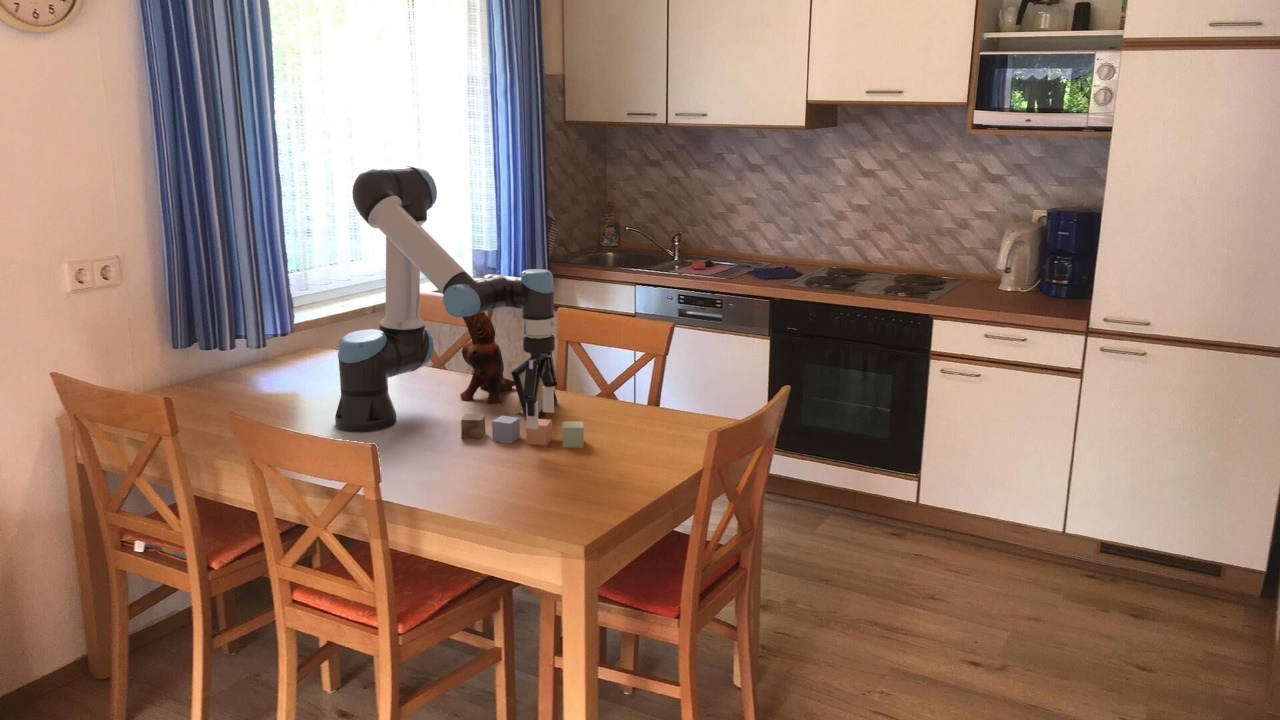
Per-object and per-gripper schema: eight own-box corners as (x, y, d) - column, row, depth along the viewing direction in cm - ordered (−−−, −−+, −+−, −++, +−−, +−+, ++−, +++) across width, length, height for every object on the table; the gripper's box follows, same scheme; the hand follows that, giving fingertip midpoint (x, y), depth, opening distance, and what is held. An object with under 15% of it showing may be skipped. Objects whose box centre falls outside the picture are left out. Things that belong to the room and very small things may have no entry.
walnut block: (461, 439, 245) (461, 419, 244) (465, 432, 250) (464, 413, 249) (481, 439, 245) (481, 420, 244) (485, 433, 250) (484, 414, 249)
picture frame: (532, 427, 254) (525, 370, 251) (499, 428, 256) (492, 372, 253) (557, 402, 276) (551, 350, 273) (527, 403, 278) (520, 351, 275)
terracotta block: (526, 444, 243) (526, 424, 241) (532, 437, 247) (532, 418, 246) (546, 445, 242) (546, 425, 241) (552, 439, 247) (552, 419, 245)
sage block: (562, 447, 241) (562, 427, 239) (562, 441, 245) (562, 421, 244) (583, 447, 241) (583, 427, 240) (583, 440, 246) (583, 421, 244)
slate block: (492, 440, 245) (492, 421, 243) (501, 434, 249) (501, 415, 248) (511, 443, 243) (510, 423, 242) (519, 437, 248) (519, 417, 246)
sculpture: (440, 396, 281) (437, 291, 274) (485, 382, 296) (483, 282, 289) (490, 407, 271) (487, 298, 264) (533, 392, 286) (532, 289, 279)
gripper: (538, 346, 225) (541, 436, 230) (567, 325, 249) (568, 406, 254) (507, 345, 227) (509, 434, 232) (538, 323, 251) (540, 405, 256)
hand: (540, 420), depth 243 cm, fingers open, 13 cm apart
